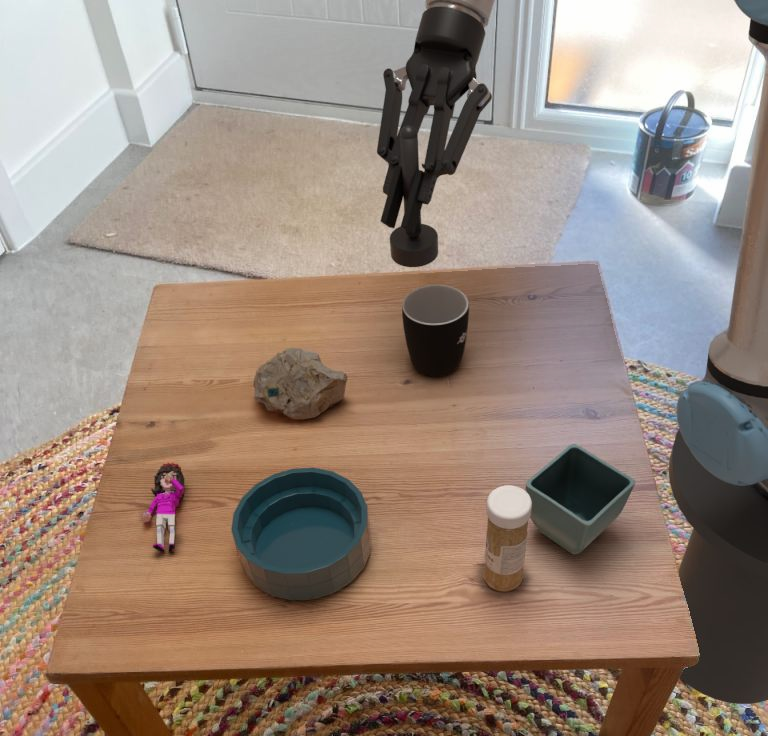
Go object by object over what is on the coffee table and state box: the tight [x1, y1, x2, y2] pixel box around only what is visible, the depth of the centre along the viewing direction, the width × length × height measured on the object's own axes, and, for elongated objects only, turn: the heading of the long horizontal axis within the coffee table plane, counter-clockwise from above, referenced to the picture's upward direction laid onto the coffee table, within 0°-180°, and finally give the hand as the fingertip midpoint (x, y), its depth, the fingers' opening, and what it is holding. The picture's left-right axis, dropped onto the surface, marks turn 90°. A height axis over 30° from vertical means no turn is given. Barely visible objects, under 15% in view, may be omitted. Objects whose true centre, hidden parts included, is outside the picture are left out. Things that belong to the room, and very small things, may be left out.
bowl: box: [231, 467, 372, 601], centre depth 98 cm, size 15×15×6 cm
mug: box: [401, 284, 470, 378], centre depth 117 cm, size 12×9×10 cm
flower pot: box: [525, 443, 636, 555], centre depth 96 cm, size 9×9×9 cm
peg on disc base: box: [389, 125, 439, 268], centre depth 100 cm, size 6×6×16 cm
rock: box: [252, 347, 348, 420], centre depth 113 cm, size 12×7×10 cm, turn 76°
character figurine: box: [141, 462, 185, 554], centre depth 103 cm, size 6×5×12 cm
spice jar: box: [482, 484, 532, 592], centre depth 90 cm, size 5×5×14 cm
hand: (397, 226), depth 100 cm, fingers closed on peg on disc base, 2 cm apart
